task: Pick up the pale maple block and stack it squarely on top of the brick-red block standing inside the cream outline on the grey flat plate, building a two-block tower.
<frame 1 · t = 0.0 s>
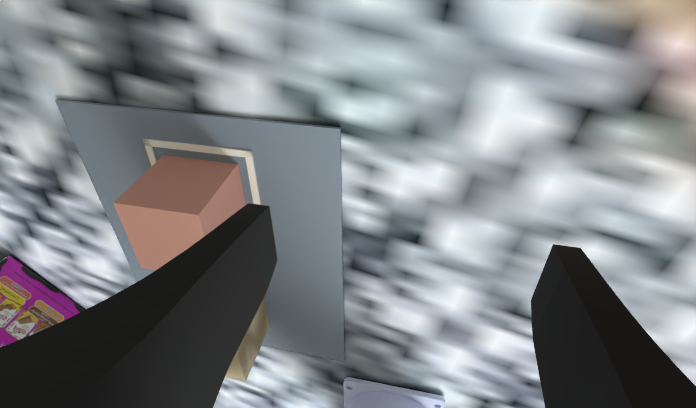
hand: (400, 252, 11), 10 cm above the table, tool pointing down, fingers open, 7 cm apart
candy bar box: (57, 301, 38), on the table
grey flat plate: (225, 251, 28), on the table
maple block: (236, 302, 31), resting on grey flat plate
brick-red base block: (208, 192, 25), resting on grey flat plate
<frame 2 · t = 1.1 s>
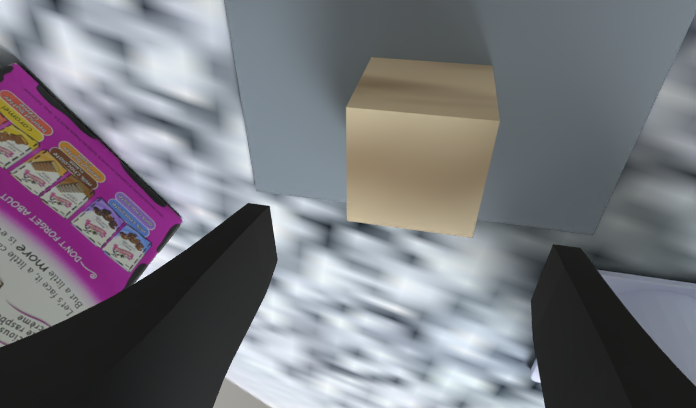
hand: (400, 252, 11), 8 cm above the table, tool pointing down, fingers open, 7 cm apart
candy bar box: (91, 164, 24), on the table
maple block: (424, 116, 17), resting on grey flat plate
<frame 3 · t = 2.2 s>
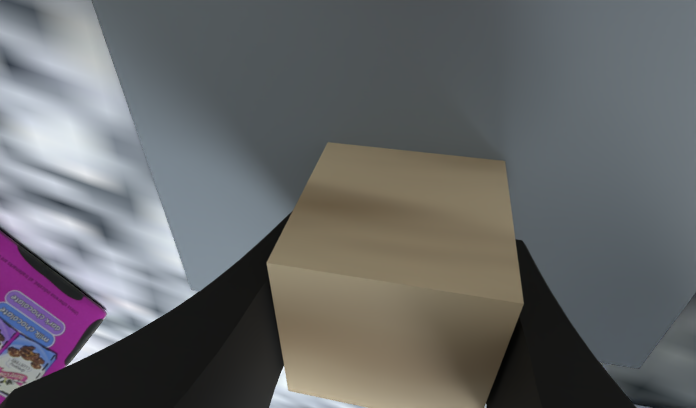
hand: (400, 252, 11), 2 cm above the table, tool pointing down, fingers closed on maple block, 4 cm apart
grey flat plate: (425, 38, 9), on the table
maple block: (406, 218, 12), resting on grey flat plate, touching gripper
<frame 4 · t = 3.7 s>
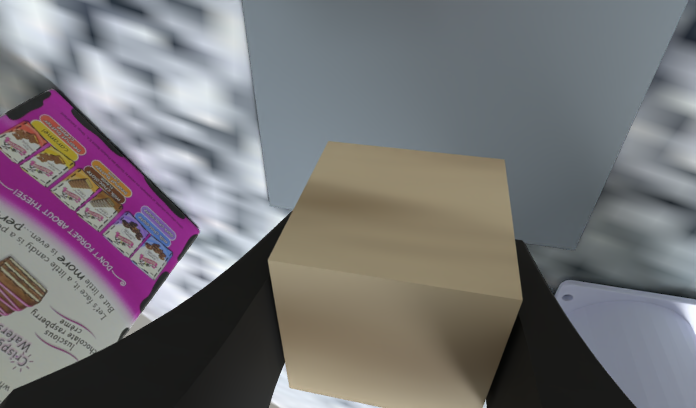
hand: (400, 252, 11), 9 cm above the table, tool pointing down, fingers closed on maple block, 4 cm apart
candy bar box: (116, 179, 26), on the table
grey flat plate: (438, 28, 17), on the table
maple block: (406, 217, 12), point 8 cm above the table, touching gripper
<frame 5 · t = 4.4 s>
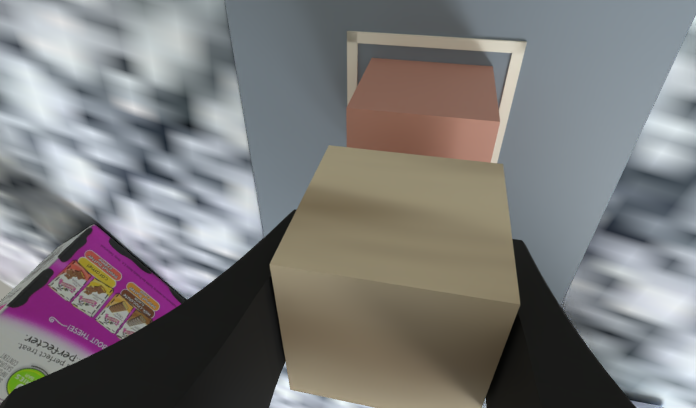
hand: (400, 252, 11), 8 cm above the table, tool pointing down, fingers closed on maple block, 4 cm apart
candy bar box: (144, 285, 30), on the table
grey flat plate: (413, 209, 21), on the table
maple block: (406, 220, 13), point 7 cm above the table, touching gripper
brick-red base block: (424, 116, 17), resting on grey flat plate
when the fingers open (7 cm above the table, at t = 5.0 s): maple block stays where it is, resting on brick-red base block.
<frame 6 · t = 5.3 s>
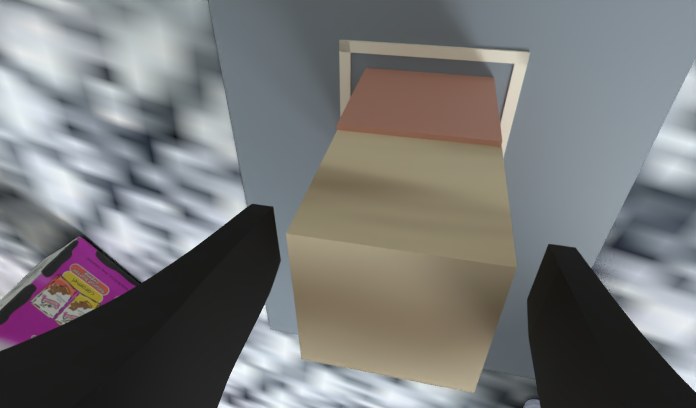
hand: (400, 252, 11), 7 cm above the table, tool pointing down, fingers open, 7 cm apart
candy bar box: (133, 297, 29), on the table
grey flat plate: (411, 224, 20), on the table
maple block: (409, 202, 13), point 5 cm above the table, touching brick-red base block
brick-red base block: (421, 129, 17), resting on grey flat plate, touching maple block
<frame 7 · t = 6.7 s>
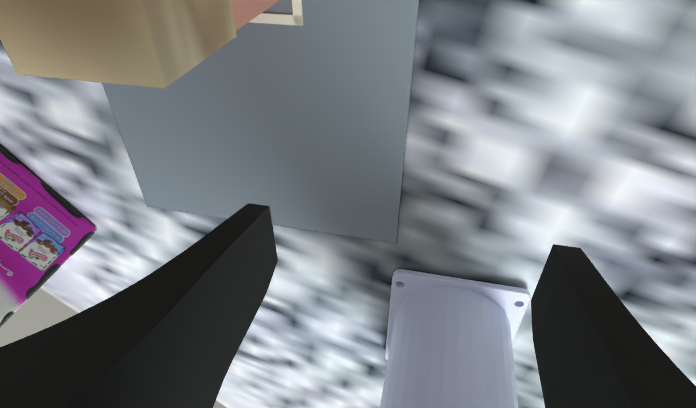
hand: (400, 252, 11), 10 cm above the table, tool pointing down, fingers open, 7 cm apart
candy bar box: (20, 183, 30), on the table
grey flat plate: (241, 59, 20), on the table
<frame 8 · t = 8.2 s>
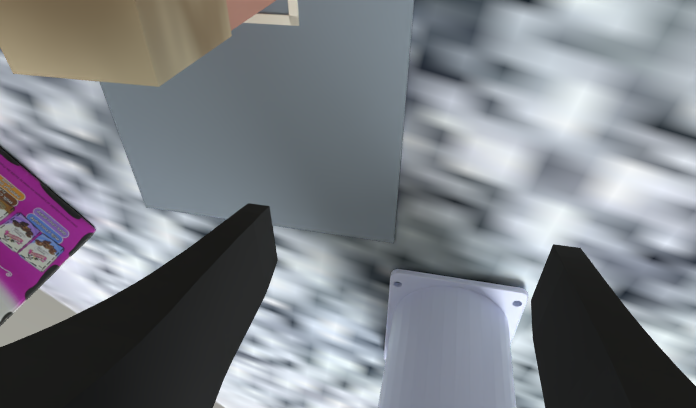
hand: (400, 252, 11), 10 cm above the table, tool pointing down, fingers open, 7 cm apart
candy bar box: (20, 184, 30), on the table
grey flat plate: (238, 60, 20), on the table
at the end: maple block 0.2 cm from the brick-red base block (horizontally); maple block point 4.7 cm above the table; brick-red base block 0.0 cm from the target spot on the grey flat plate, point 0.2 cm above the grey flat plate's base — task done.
